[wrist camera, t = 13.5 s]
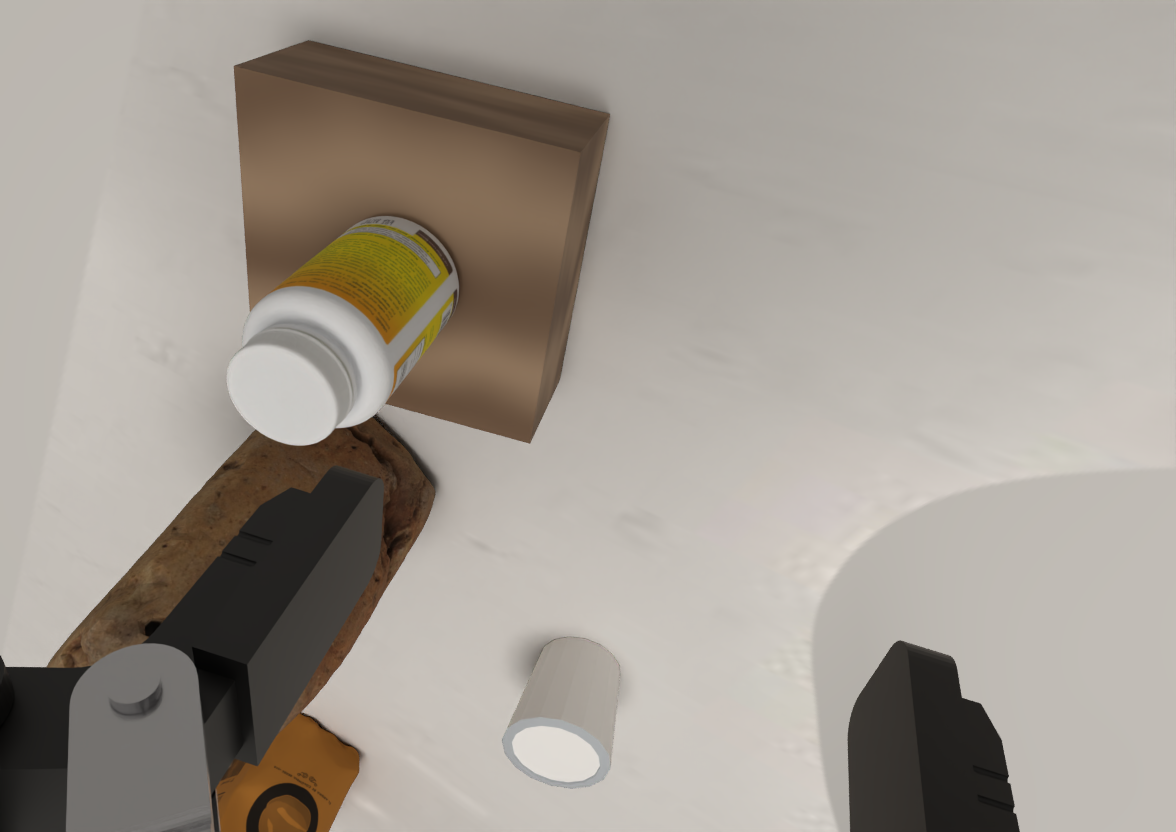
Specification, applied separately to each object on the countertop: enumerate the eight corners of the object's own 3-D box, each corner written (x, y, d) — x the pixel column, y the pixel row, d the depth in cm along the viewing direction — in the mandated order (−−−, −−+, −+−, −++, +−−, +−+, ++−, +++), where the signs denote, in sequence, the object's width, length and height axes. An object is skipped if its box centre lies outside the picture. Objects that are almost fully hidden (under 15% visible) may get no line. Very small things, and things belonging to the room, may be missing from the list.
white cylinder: (615, 628, 54) (593, 718, 48) (640, 699, 57) (622, 792, 51) (518, 631, 56) (486, 719, 50) (547, 700, 59) (520, 789, 53)
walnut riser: (308, 40, 37) (233, 66, 32) (610, 114, 36) (580, 152, 31) (312, 313, 45) (253, 367, 40) (559, 379, 44) (530, 443, 39)
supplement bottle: (330, 207, 35) (180, 315, 26) (456, 214, 34) (342, 327, 25) (354, 327, 38) (226, 457, 29) (470, 336, 37) (372, 474, 28)
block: (260, 431, 51) (3, 698, 34) (319, 360, 47) (62, 623, 30) (398, 539, 53) (221, 834, 37) (466, 480, 49) (301, 782, 33)
